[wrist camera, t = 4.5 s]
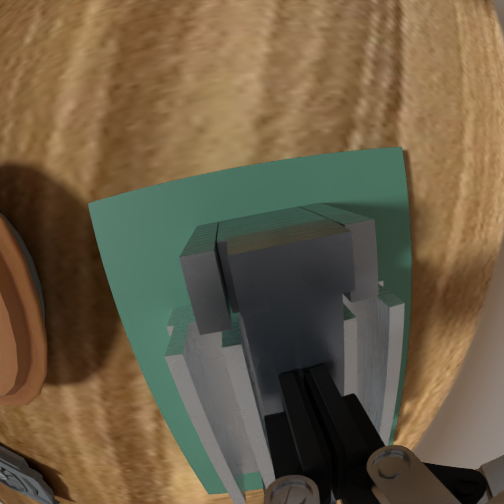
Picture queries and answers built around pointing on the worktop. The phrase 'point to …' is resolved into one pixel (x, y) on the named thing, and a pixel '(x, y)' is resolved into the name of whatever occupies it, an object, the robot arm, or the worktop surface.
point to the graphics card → (24, 478)
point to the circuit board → (228, 207)
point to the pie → (20, 321)
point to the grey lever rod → (293, 301)
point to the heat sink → (238, 352)
